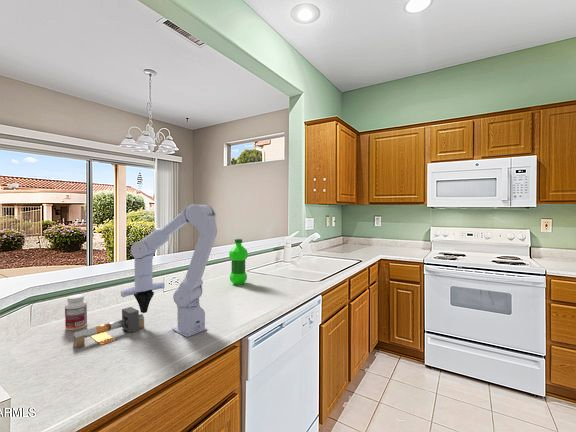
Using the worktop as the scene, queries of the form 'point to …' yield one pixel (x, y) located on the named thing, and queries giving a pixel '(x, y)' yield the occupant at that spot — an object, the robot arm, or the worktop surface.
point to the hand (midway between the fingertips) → (143, 312)
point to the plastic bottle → (238, 263)
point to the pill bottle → (75, 312)
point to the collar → (131, 319)
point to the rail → (102, 332)
